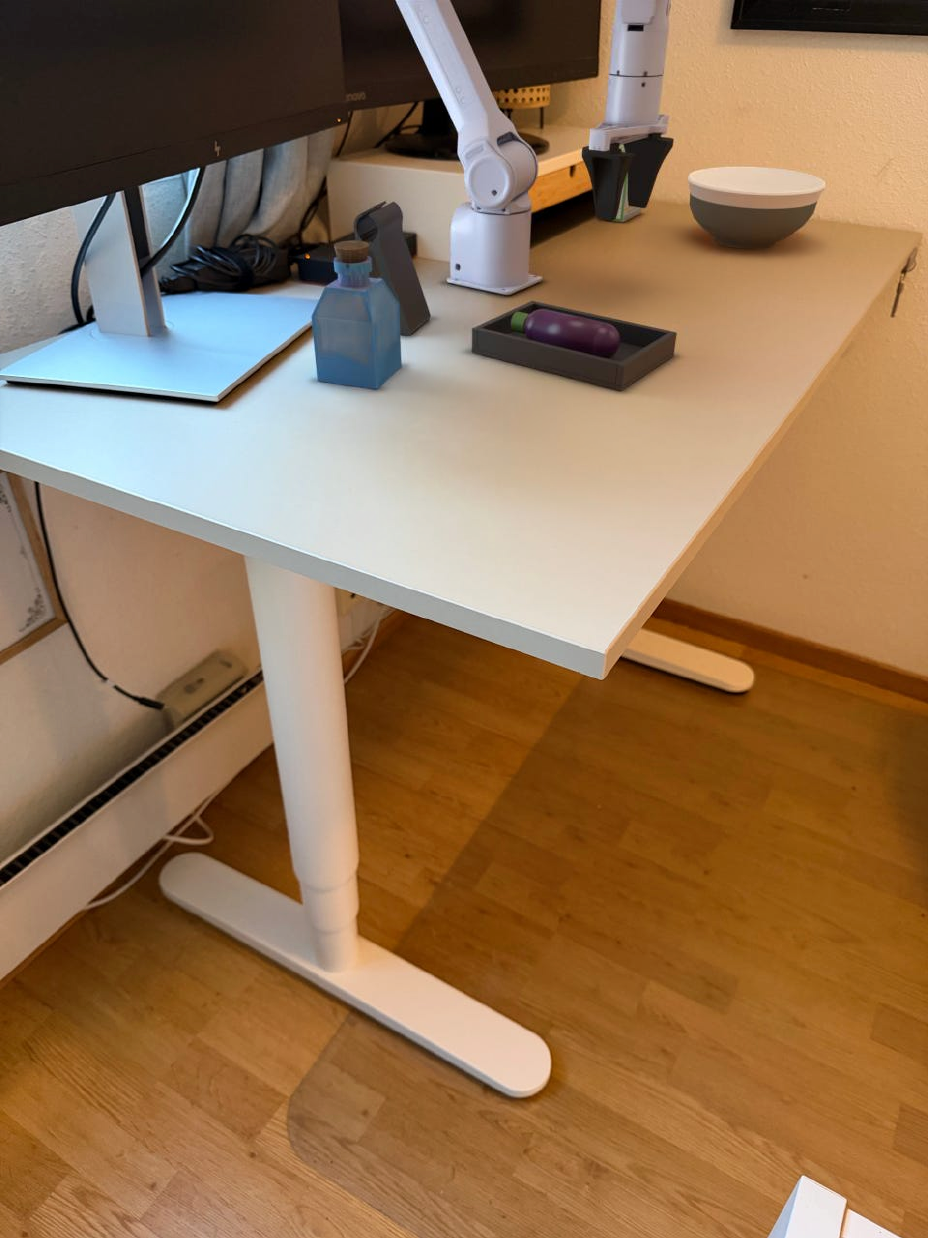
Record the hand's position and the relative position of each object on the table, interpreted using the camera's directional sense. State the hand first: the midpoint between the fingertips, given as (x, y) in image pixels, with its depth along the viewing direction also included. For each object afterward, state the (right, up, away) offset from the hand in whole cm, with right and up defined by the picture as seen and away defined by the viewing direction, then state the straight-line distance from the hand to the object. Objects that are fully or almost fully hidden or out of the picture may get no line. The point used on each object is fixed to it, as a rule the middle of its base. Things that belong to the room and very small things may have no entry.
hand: (622, 212), depth 102 cm
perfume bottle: (-28, -23, -15) cm, 39 cm away
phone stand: (-27, -14, -2) cm, 30 cm away
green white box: (+7, +17, +39) cm, 42 cm away
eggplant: (-7, -19, -11) cm, 23 cm away
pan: (-7, -19, -10) cm, 23 cm away
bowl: (+23, +8, +27) cm, 36 cm away
